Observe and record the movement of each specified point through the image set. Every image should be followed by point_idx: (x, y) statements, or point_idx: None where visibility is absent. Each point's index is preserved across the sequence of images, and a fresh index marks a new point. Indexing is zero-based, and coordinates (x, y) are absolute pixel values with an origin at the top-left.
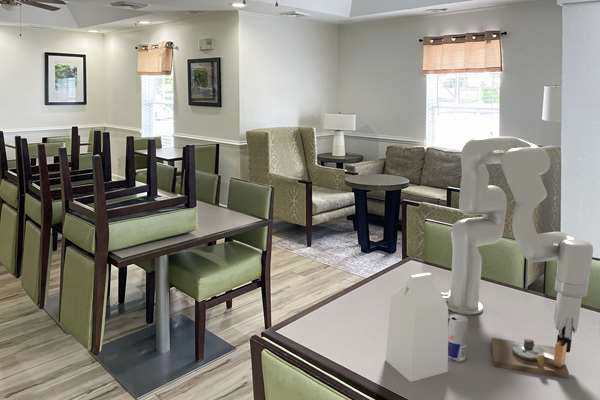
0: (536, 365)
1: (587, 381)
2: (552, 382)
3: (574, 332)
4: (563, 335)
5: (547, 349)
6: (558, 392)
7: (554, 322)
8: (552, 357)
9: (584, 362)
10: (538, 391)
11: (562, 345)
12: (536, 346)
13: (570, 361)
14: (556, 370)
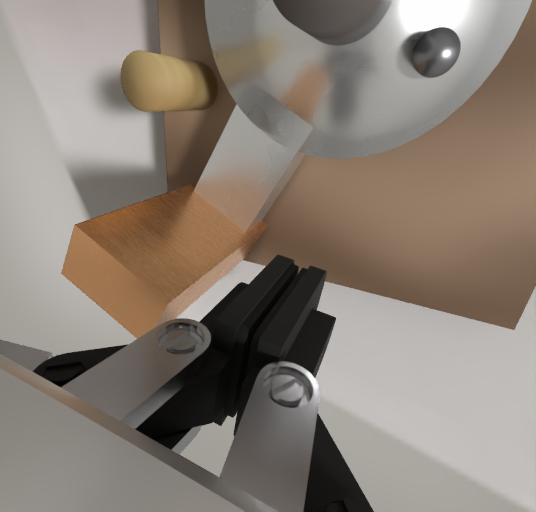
0: (193, 59)
1: (194, 304)
2: (130, 136)
3: None
4: (72, 357)
5: (473, 223)
6: (67, 140)
7: (115, 438)
8: (225, 190)
9: (374, 385)
10: (32, 37)
11: (74, 276)
12: (401, 98)
13: (375, 321)
14: (174, 182)
